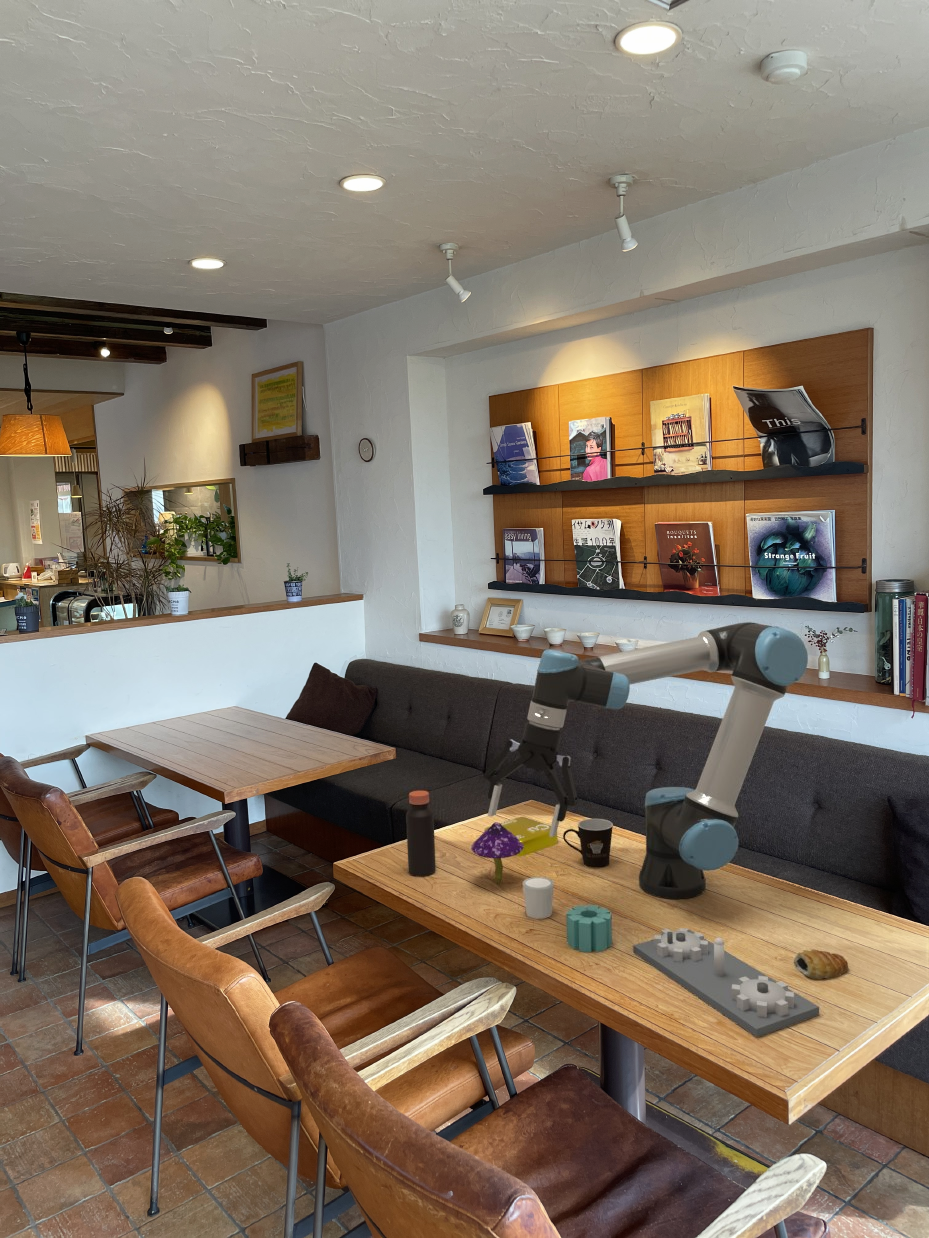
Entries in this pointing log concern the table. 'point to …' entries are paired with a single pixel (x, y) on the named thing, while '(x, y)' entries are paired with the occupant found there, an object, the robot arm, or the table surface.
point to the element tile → (530, 834)
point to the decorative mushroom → (497, 846)
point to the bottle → (420, 835)
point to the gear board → (725, 981)
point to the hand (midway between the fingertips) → (521, 825)
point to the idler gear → (589, 928)
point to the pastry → (820, 964)
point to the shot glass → (538, 897)
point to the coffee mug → (593, 841)
